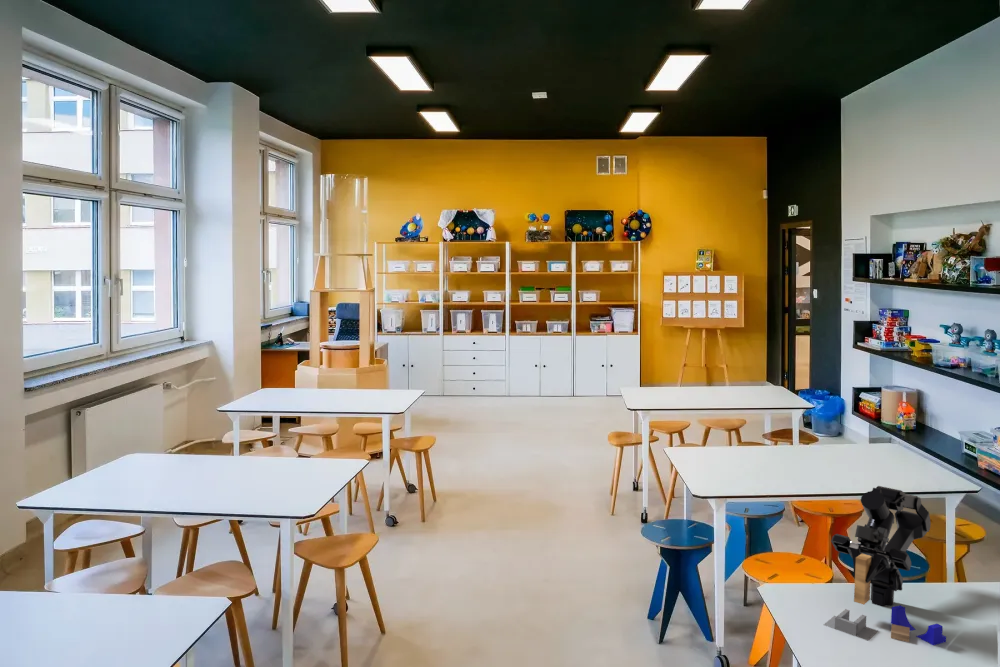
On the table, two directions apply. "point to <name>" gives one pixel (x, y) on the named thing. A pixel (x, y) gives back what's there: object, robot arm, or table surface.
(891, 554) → the robot arm
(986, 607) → the table surface
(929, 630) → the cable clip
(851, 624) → the rack
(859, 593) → the tall strip
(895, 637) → the upper offcut
